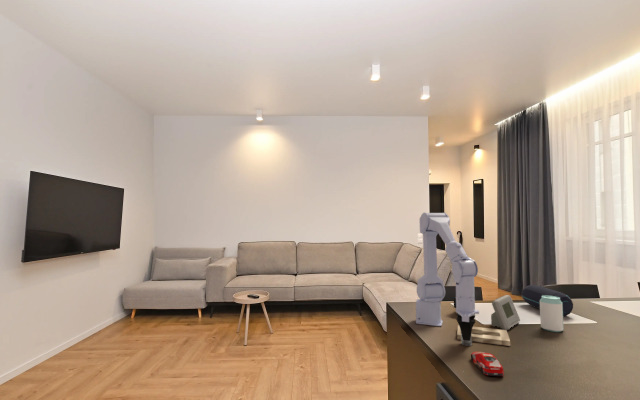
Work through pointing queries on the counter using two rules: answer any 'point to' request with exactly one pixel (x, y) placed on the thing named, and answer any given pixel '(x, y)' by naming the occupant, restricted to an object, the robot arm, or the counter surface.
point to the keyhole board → (488, 335)
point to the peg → (466, 343)
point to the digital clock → (504, 313)
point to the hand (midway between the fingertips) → (466, 338)
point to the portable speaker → (535, 292)
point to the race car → (487, 364)
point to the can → (551, 313)
